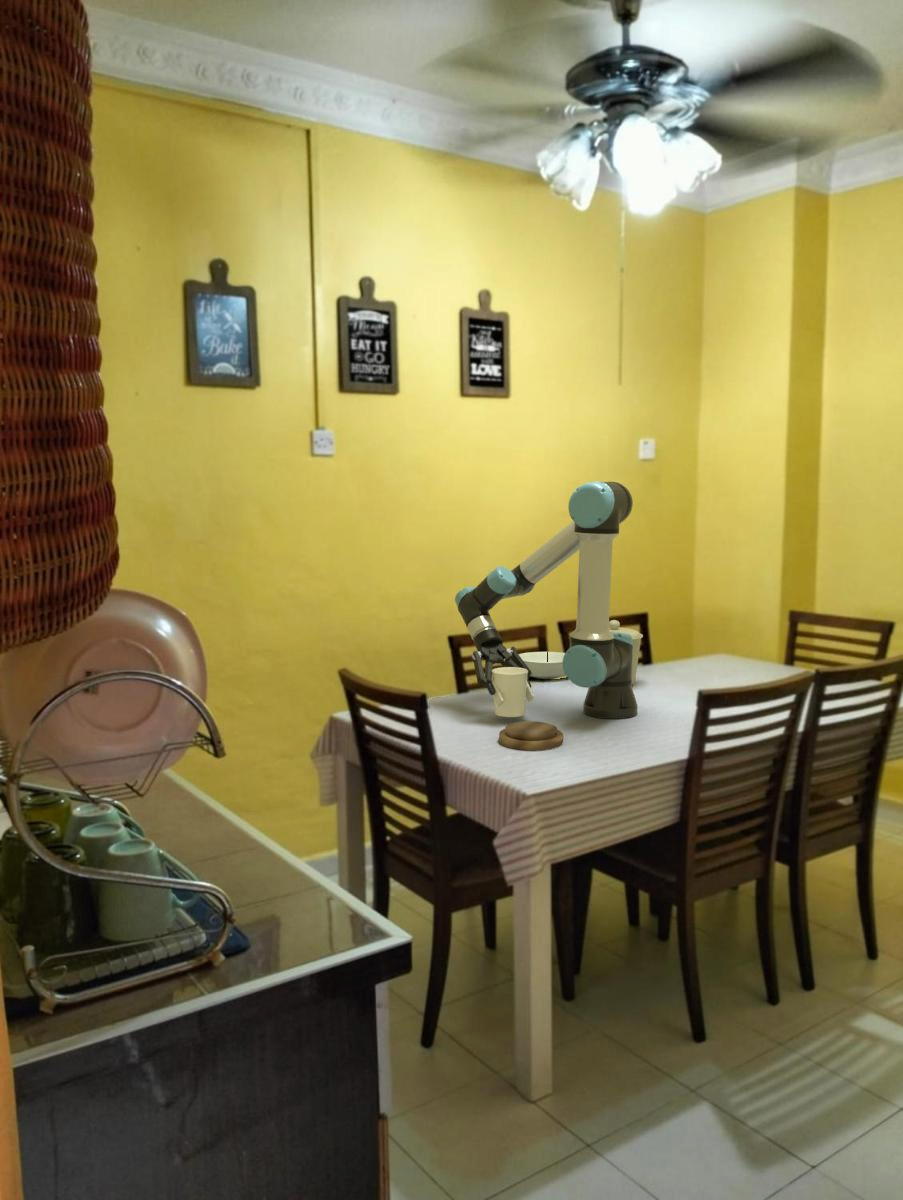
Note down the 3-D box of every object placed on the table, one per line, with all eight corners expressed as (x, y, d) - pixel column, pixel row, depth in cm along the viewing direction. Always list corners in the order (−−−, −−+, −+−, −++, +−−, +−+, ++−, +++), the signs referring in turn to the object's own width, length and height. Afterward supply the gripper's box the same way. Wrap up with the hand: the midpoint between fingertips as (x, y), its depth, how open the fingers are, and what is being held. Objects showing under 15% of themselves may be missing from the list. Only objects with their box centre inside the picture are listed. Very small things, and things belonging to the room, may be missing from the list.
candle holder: (529, 717, 247) (529, 673, 246) (492, 718, 248) (492, 674, 246) (526, 709, 257) (526, 666, 256) (491, 709, 257) (491, 667, 256)
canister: (634, 678, 306) (635, 615, 303) (648, 691, 288) (649, 624, 285) (580, 679, 305) (581, 616, 302) (590, 691, 287) (591, 624, 284)
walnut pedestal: (569, 736, 237) (569, 722, 236) (554, 753, 222) (554, 739, 221) (509, 730, 242) (509, 717, 242) (490, 746, 227) (490, 733, 227)
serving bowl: (579, 671, 318) (579, 652, 317) (573, 684, 298) (573, 663, 297) (519, 669, 323) (519, 649, 322) (509, 681, 303) (509, 661, 302)
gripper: (512, 639, 269) (543, 703, 257) (446, 647, 258) (476, 714, 246) (522, 624, 264) (555, 688, 252) (456, 630, 253) (486, 698, 241)
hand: (516, 701), depth 249 cm, fingers closed on candle holder, 9 cm apart
